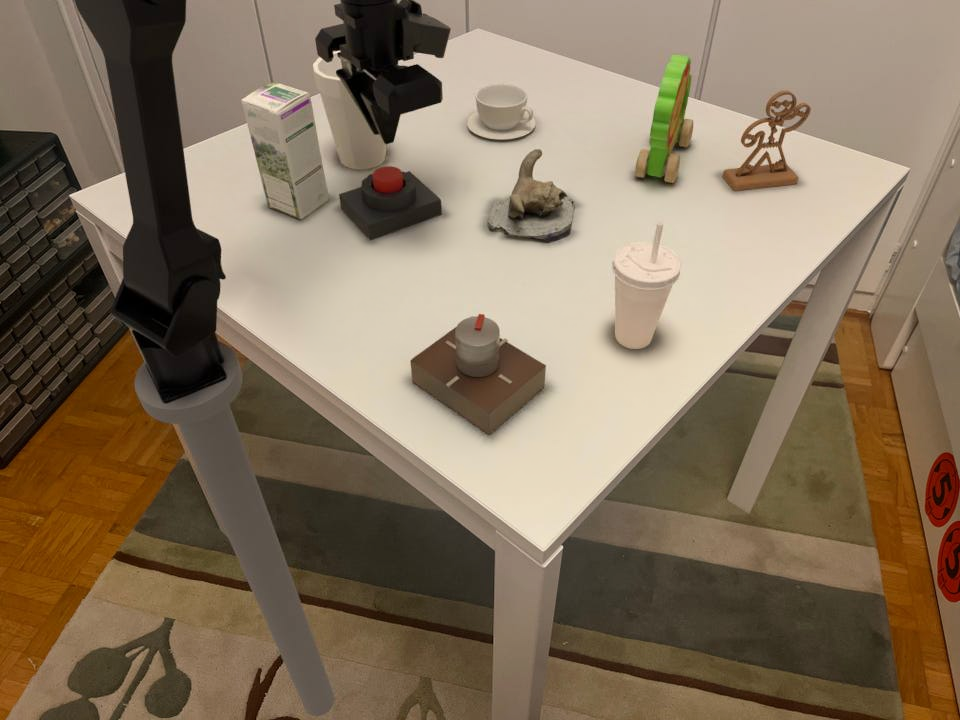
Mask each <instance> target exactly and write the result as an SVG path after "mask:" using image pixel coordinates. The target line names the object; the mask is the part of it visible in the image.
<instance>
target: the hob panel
mask: <svg viewBox="0 0 960 720" xmlns="http://www.w3.org/2000/svg"><path fill="white" fill-rule="evenodd" d="M456 327H457V326H455V327H453V329H451V330H449V332H447V333H446V334H444V335H443V336H441V337H440V338H439V339H437V340H436V341H435V342H433V343H432V344H430V345H429V346H427V347H426V348H424V349H423V350H422V351H421V352H419V353H418V354H417V355H415V356H413V357H412V358H411V359H410V360H409V361H410V371H411V382H412V383H413V384H415V385H416V386H418V387H419V388H421V389H422V390H423V391H425V392H426V393H428V394H429V395H431V396H432V397H434V398H435V399H436V400H438V401H440V402H441V403H442V404H444V405H445V406H446V407H448V408H449V409H451V410H452V411H454V412H455V413H457V414H458V415H459V416H461V417H463V418H464V419H466V421H468V422H470V423H471V424H473V425H474V426H476V427H477V428H478V429H480V430H481V431H483V432H484V433H486V434H487V435H491V434H492V433H494V431H496V430H497V429H498V428H499V427H501V425H503V424H504V423H505V422H506V421H507V420H508V419H510V418H511V417H512V416H513V415H514V414H516V413H517V412H518V411H519V410H520V409H522V407H524V405H526V404H527V403H528V402H529V401H530V400H532V399H533V398H534V397H535V396H536V395H537V394H539V392H541V391H542V390H543V389H544V388H545V384H546V371H547V365H546V364H545V363H543V362H541V361H540V360H537V359H536V358H535V357H533V356H531V355H530V354H528V353H526V352H524V351H523V350H521V349H519V348H518V347H516V346H514V345H513V344H511V343H509V342H508V341H509V340H508V339H507V338H502V337H500V344H499V366H498V368H497V369H496V370H495V371H494V372H493V373H492V374H490V375H488V376H484V377H471V376H468V375H466V374H464V373H462V372H461V371H460V370H459V368H458V367H457V363H456V338H455V330H456Z"/></svg>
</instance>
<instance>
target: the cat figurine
mask: <svg viewBox="0 0 960 720" xmlns="http://www.w3.org/2000/svg"><path fill="white" fill-rule="evenodd" d="M542 156H543V151H542V150H541V149H539V148H538V149H533V150H532V151H530V152H528V153H527V154H526V155H525V157H524V158H523V160H522V161H521V163H520V166H519V172H518V176H517V177H518V178H517V181H516V183H515V184H514V187H513V189H512V192H511V194H510V196H509V199H507V200H505V202H504V203H500V201H501V200H500V199H498V200H495V201H494V202H493V204H492V206H491V211H490V213H489V216H488V220H487V227H488V229H489V230H490V231H494V230H495V229H496V228H497V229H499V228H502V229H503V230H505V231H506V232H504V233H503V235H504V236H507V237H509V236H510V237H511V236H512V237H515V236H517V237H518V236H519V237H521V238H522V237H525V238H531V237H532V238H535V239H539V240H544V241H545V242H546V243H548V244H549V243H552V242H556V241H558V240H559V239H562V238H564V237H567V236H568V235H569V234H571V230H572V229H571V228H572V223H573V217H574V211H575V201H574V200H573V199H569V198H568V195H567V193H566V192H565V191H564V190H563V189H561V188H558V187H557V186H556V185H555V184H554V182H553V181H552V180H549V181H545V182H542V181H540V180H536V179H534V177H533V172H534V168H535V165H536V163H537V161H538V160H540V158H542Z"/></svg>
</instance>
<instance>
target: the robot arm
mask: <svg viewBox="0 0 960 720" xmlns="http://www.w3.org/2000/svg"><path fill="white" fill-rule="evenodd" d="M73 1H74V4H75V6H76V9H77V11H78V13H79V14H80V17H82V20H83V21H84V23H85V25H86V27H87V28H88V30H89V31H90V32H91V34H92V36H93V39H94V40H95V42H96V43H97V44H98V46H99V47H100V50H101V51H102V54H103V57H104V63H105V68H106V74H107V80H108V85H109V91H110V97H111V103H112V108H113V114H114V118H115V124H116V131H117V136H118V141H119V147H120V153H121V158H122V163H123V169H124V174H125V180H126V181H125V182H126V186H127V192H128V198H129V203H130V204H129V205H130V209H131V214H132V225H131V227H130V230H129V231H128V233H127V236H126V238H125V240H124V242H123V245H122V280H121V282H120V285H119V287H118V290H117V291H116V295H115V296H114V300H113V301H112V304H111V307H110V309H109V315H110V316H111V317H112V318H114V319H115V320H116V321H117V322H119V324H121V325H123V326H125V327H128V328H129V329H130V330H131V332H132V335H133V337H134V339H135V342H136V344H137V347H138V349H139V351H140V353H141V355H142V357H143V360H144V362H146V367H147V370H148V372H149V374H150V376H151V378H152V380H153V383H154V385H155V387H156V389H157V391H158V393H159V396H160V398H161V400H162V402H163V403H170V402H173V401H175V400H177V399H180V398H182V397H185V396H187V395H190V394H192V393H195V392H197V391H200V390H202V389H204V388H207V387H209V386H212V385H214V384H217V383H219V382H222V381H224V380H226V379H227V375H226V372H225V370H224V369H223V367H222V365H221V364H222V363H224V361H225V360H224V357H223V354H222V351H221V348H220V345H219V343H218V341H219V339H218V336H217V335H216V332H217V324H218V323H217V322H218V319H217V318H218V301H219V299H220V295H221V288H222V287H221V286H222V285H221V284H222V283H221V280H226V278H227V275H226V274H225V273H224V270H223V267H222V246H221V242H220V239H218V238H217V237H215V236H213V235H211V234H209V233H207V232H205V231H203V230H201V229H199V228H197V227H196V225H195V223H194V220H193V212H192V205H191V197H190V189H189V181H188V173H187V166H186V159H185V158H186V157H185V150H184V143H183V134H182V127H181V118H180V110H179V104H178V95H177V87H176V80H175V72H174V64H173V53H174V52H175V49H176V46H177V44H178V42H179V39H180V36H181V34H182V32H183V30H184V27H185V25H186V21H187V0H73ZM339 2H340V3H336V4H333V8H334V14H335V17H338V18H339V19H340V20H342V23H340V24H339V23H338V24H336V25H335V24H334V25H331V26H327V27H322V28H320V30H319V32H318V33H317V34H316V36H315V38H314V41H315V46H316V53H317V56H318V57H319V58H320V57H321V58H322V59H323V60H324V61H326V62H327V63H328V62H332V60H333V57H334V56H333V52H335V51H340V52H338V53H337V56H338V57H339V58H340V59H341V65H342V69H338V70H337V71H336V75H337V76H338V77H339V78H340V80H341V81H342V83H343V85H344V86H345V88H346V89H347V91H348V93H349V94H350V96H351V97H352V99H353V101H354V102H355V104H356V105H357V107H358V109H359V110H360V112H361V114H362V115H363V117H364V119H365V120H366V122H367V124H368V125H369V127H370V129H371V130H372V132H373V133H374V134H375V135H378V134H380V136H381V138H382V140H383V142H384V143H385V144H386V145H390V144H393V143H394V142H395V138H396V134H397V130H398V127H399V124H400V119H401V116H402V115H404V114H407V113H412V112H415V111H418V110H421V109H424V108H427V107H431V106H435V105H438V104H441V103H442V102H443V100H444V98H443V97H444V96H443V94H444V93H443V81H441V80H440V79H439V78H438V77H436V76H435V75H433V74H432V73H431V72H429V71H428V70H427V69H426V68H424V67H423V66H422V65H420V64H419V63H416V64H412V65H403V64H402V65H400V64H399V62H400V61H403V62H407V61H410V60H414V59H415V56H414V53H417V54H423V55H429V56H434V57H435V58H438V59H444V58H445V55H446V54H445V53H446V51H447V47H448V42H449V37H450V34H451V30H452V28H451V27H450V26H449V25H447V24H445V23H444V22H442V21H440V20H439V19H437V18H436V17H433V16H431V15H429V14H427V13H425V12H424V13H423V9H422V5H421V4H420V3H419V2H417V1H416V0H400V1H399V2H398V0H340V1H339ZM221 376H222V377H221ZM166 398H167V399H166Z"/></svg>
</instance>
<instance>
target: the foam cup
mask: <svg viewBox="0 0 960 720" xmlns="http://www.w3.org/2000/svg"><path fill="white" fill-rule="evenodd" d="M338 52H340V50H339V51H333V56H334V57H333V60H332V62H328V63H327V62H326V61H324V60H323V59H322V58H321V57H320V56H319V57H318V58H317V59H316V60H315V61H314V63H313V64H312V68H313V69H312V70H313V75H314V81H315V85H316V89H317V91H318V92H319V94H320V98H321V101H322V104H323V107H324V112H325V115H326V118H327V121H328V125H329V128H330V131H331V134H332V138H333V142H334V145H335V148H336V151H337V156H338V158H339V160H340V161H339V162H340V164H342V165H343V166H344V167H346V168H349V169H353V170H369V169H372V168H376V167H377V166H379V165H381V164H383V163H384V161H385V160H386V157H387V155H386V154H387V144H385V143H384V142H383V140H382V138H381V136H380V134H378V135H375V134H374V133H373V132H372V130H371V129H370V127H369V125H368V124H367V122H366V120H365V119H364V117H363V115H362V114H361V112H360V110H359V109H358V107H357V105H356V104H355V102H354V101H353V99H352V97H351V96H350V94H349V93H348V91H347V89H346V88H345V86H344V85H343V83H342V81H341V80H340V78H339V77H338V76H337V75H336V71H337V70H338V69H342V65H341V59H340V58H339V57H338V56H337V53H338Z"/></svg>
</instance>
